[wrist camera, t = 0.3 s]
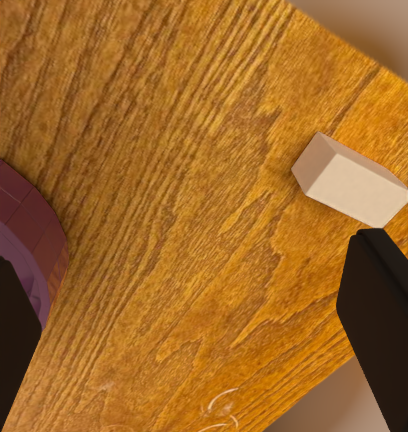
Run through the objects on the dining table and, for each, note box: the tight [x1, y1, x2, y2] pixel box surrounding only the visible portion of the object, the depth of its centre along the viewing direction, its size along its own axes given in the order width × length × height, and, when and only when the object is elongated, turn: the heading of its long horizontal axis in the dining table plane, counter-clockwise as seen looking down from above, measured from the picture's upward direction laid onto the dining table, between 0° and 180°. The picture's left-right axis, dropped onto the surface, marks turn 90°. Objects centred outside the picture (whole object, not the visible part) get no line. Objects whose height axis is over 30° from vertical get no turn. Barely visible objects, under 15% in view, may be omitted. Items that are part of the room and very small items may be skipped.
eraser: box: [291, 131, 408, 228], centre depth 22 cm, size 6×3×4 cm, turn 62°
